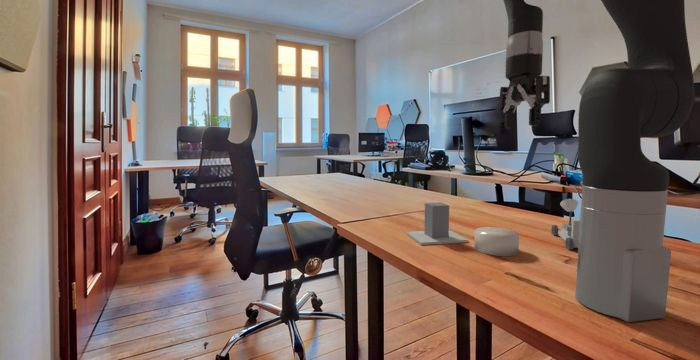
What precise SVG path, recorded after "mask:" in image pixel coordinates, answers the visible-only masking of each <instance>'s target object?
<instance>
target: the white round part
mask: <svg viewBox="0 0 700 360" xmlns="http://www.w3.org/2000/svg"><path fill="white" fill-rule="evenodd" d="M473 246H474V247H473V248H474V250H475V251H477V252H479V253H481V254H484V255H488V256H495V257H513V256H517V255H519V248H520V247H519V246H520V233H519V232H517V231H516V230H512V229H508V228H503V227H496V226H495V227H494V226H487V227H486V226H485V227H478V228H475V229H474V245H473Z"/></svg>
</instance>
